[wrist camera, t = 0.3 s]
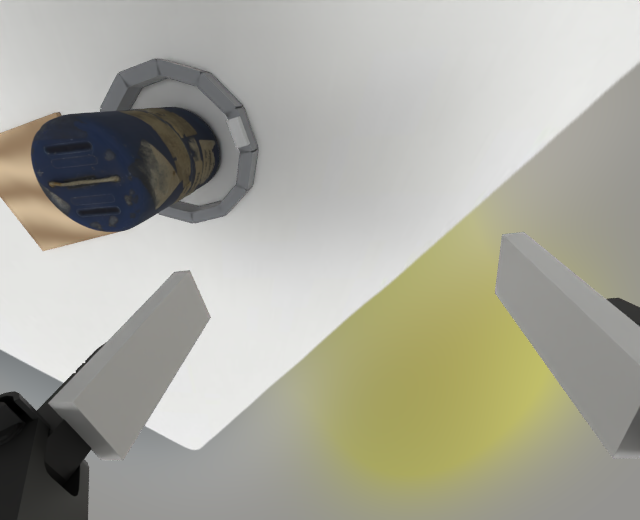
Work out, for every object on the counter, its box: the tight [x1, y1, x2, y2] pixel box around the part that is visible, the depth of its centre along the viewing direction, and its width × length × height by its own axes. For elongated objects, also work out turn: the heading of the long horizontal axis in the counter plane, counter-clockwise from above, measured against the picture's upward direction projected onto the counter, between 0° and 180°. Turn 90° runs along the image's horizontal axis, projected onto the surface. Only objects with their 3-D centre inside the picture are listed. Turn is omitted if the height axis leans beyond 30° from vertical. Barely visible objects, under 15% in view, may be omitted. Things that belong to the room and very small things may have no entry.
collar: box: [100, 59, 258, 224], centre depth 37 cm, size 18×18×4 cm
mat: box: [0, 113, 120, 251], centre depth 42 cm, size 16×16×1 cm
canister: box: [31, 107, 219, 232], centre depth 30 cm, size 10×10×18 cm
